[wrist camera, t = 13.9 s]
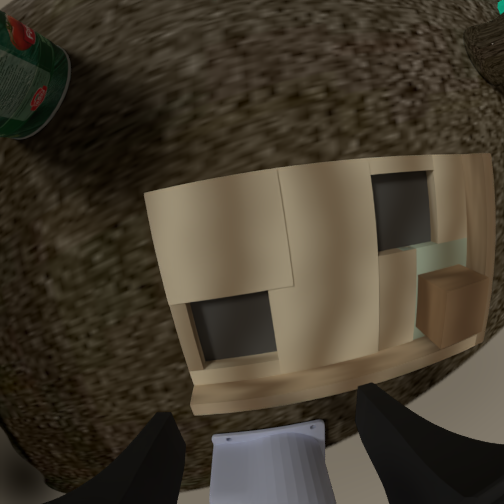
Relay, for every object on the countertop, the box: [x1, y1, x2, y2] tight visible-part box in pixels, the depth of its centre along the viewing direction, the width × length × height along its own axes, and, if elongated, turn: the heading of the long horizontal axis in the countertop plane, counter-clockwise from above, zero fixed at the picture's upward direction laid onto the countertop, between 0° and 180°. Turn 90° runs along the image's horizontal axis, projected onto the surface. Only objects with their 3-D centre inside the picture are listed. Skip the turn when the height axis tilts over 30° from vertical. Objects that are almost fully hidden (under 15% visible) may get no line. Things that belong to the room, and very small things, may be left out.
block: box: [416, 264, 489, 349], centre depth 16 cm, size 4×4×4 cm
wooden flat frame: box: [144, 153, 495, 415], centre depth 17 cm, size 22×14×3 cm, turn 99°
